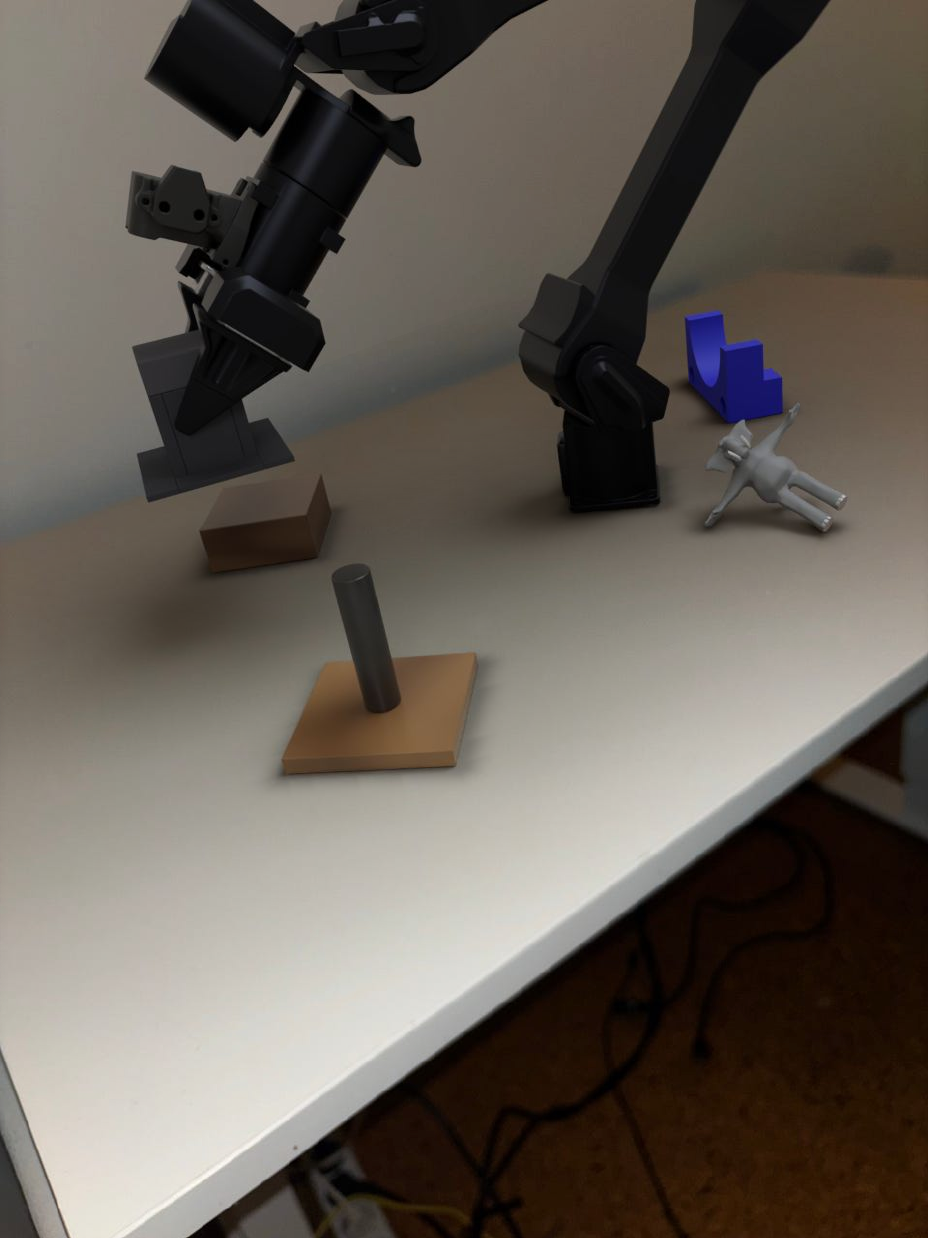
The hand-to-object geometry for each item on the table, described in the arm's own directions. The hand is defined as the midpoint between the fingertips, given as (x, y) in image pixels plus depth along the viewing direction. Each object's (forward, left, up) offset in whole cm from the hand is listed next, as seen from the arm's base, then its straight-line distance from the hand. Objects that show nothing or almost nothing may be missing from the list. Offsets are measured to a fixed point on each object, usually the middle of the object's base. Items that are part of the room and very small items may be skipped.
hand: (176, 419), depth 63 cm
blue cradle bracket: (-35, -31, -14) cm, 49 cm away
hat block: (+1, -10, -14) cm, 17 cm away
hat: (-1, -1, -3) cm, 3 cm away
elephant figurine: (-36, -7, -14) cm, 40 cm away
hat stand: (-13, +14, -14) cm, 24 cm away
